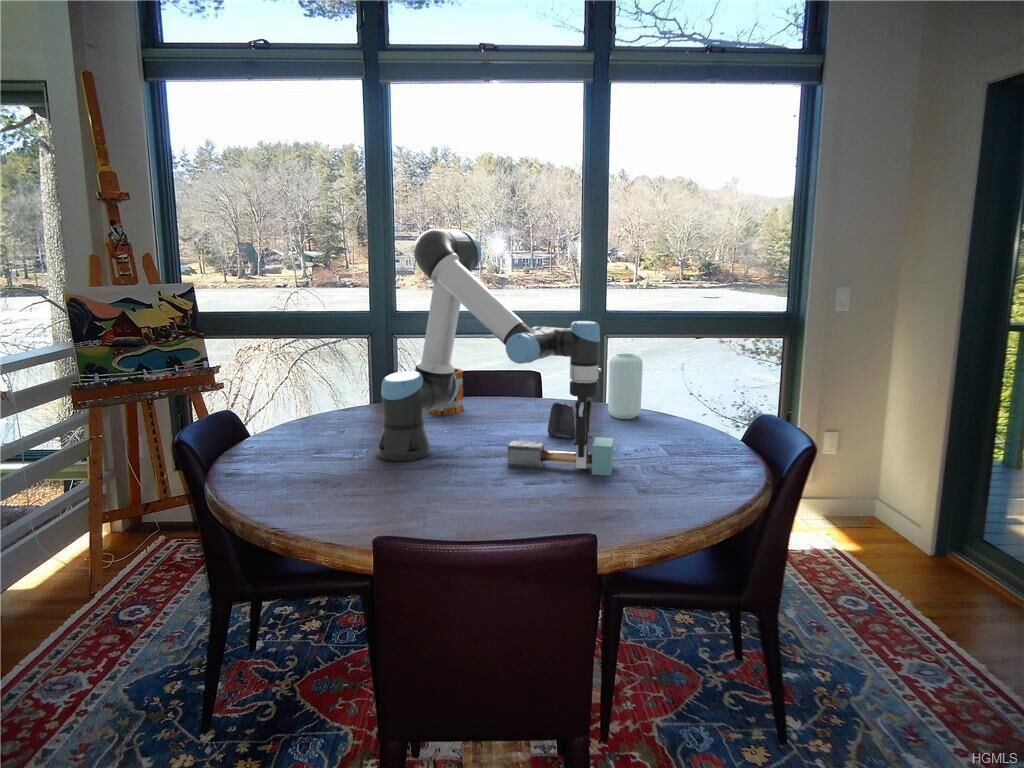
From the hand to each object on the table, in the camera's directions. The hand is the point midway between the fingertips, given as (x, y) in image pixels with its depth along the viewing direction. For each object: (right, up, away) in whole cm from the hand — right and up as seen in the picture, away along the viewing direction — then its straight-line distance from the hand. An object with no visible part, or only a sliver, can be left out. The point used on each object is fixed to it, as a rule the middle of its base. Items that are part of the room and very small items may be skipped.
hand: (582, 464), depth 176 cm
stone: (-2, +5, +34) cm, 34 cm away
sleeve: (-15, 0, +4) cm, 16 cm away
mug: (-44, +11, +62) cm, 77 cm away
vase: (+21, +10, +57) cm, 62 cm away
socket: (+5, -1, -1) cm, 6 cm away
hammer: (-3, 0, +1) cm, 4 cm away
